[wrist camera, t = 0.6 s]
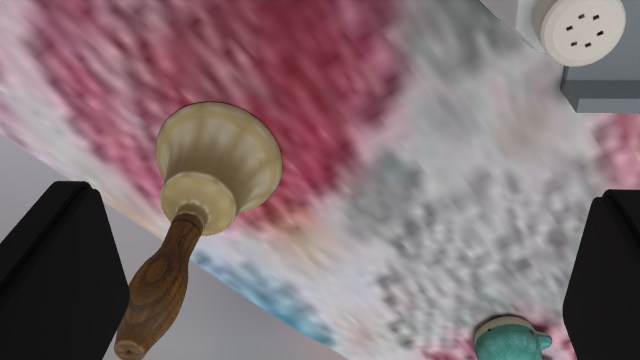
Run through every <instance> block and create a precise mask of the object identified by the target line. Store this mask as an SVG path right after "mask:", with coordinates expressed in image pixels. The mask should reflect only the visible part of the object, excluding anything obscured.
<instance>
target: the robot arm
mask: <svg viewBox="0 0 640 360" xmlns="http://www.w3.org/2000/svg"><path fill="white" fill-rule="evenodd" d="M129 300H130V292H129V287H128V284H127V281H126V277H125V274H124V271H123V268H122V264H121V261H120V257H119V254H118V251H117V247H116V244H115V241H114V237H113V234H112V231H111V227H110V224H109V221H108V217H107V214H106V211H105V208H104V204H103V201H102V198H101V195H100V192H99V191H98V190H96V189H92V187H91V186H90V184H89V183H87V182H85V181H56V182H54V183H53V184H52V185H51V186H50V187H49V188H48V189H47V190H46V191H45V192H44V194H43V195H42V196H41V197H40V198H39V199H38V201H37V202H36V203H35V204H34V205H33V206H32V207H31V209H30V210H29V211H28V212H27V213H26V214H25V216H24V217H23V218H22V219H21V220H20V222H18V224H17V225H16V226H15V227H14V228H13V229H12V231H11V232H10V233H9V234H8V235H7V236H6V238H5V239H4V240H3V241H2V242H1V243H0V360H102V359H103V357H104V355H105V353H106V351H107V349H108V347H109V345H110V343H111V341H112V338H113V337H114V334H115V333H116V331H117V329H118V327H119V325H120V323H121V321H122V319H123V317H124V315H125V312H126V310H127V308H128V305H129ZM563 320H564V324H565V327H566V330H567V332H568V335H569V338H570V340H571V343H572V346H573V348H574V351H575V354H576V356H577V359H578V360H640V190H617V189H609V190H607V191H605V193H604V194H603V196H602V197H596V198H594V200H593V201H592V204H591V207H590V210H589V214H588V218H587V221H586V225H585V228H584V232H583V235H582V239H581V242H580V246H579V249H578V253H577V257H576V260H575V264H574V267H573V271H572V274H571V278H570V281H569V285H568V288H567V292H566V296H565V299H564V303H563Z"/></svg>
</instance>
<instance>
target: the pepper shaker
mask: <svg viewBox="0 0 640 360" xmlns="http://www.w3.org/2000/svg"><path fill="white" fill-rule="evenodd" d="M480 1H481V2H482V3H483V4H484V5H485V6H486V7H487V8H488V9H489V10H490V11H491V13H493V14H494V15H495V16H496V17H497V18H498V19H499V20H501V21H502V22H503V23H504V24H505V25H506V26H507V27H509V28H510V29H511V30H512V31H513V32H514V33H515V34H516V35H518V36H519V37H520V38H521V39H522V40H523V41H524V42H526V43H527V44H528V45H529V46H530V47H531V48H533V49H534V50H536V51H537V52H545V53H546V54H547V55H548V56H549V57H550V58H551V59H552V60H553V61H555V62H557V63H558V64H560V65H565V66H569V67H577V66H584V65H588V64H592V63H594V62H596V61H598V60H600V59H601V58H603V57H604V56H605V55H607V54H608V53H609V52H610V51H611V50H612V49H613V48H614V47H615V46H616V44H617V43H618V42H619V40H620V38H621V36H622V34H623V32H624V28H625V23H626V15H625V9H624V7H623V4H622V2H621V1H620V0H480Z"/></svg>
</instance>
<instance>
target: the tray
mask: <svg viewBox="0 0 640 360" xmlns="http://www.w3.org/2000/svg"><path fill="white" fill-rule="evenodd" d="M620 1H621V2H622V4H623V7H624V9H625V15H626V23H625V28H624V32H623V34H622V36H621V38H620V40H619V42H618V43H617V44H616V46H615V47H614V48H613V49H612V50H611V51H610V52H609V53H608V54H607V55H605V56H604V57H603V58H601V59H600V60H598V61H596V62H594V63H592V64H588V65H584V66H577V67H569V66H565V70H564V74H563V79H562V84H561V88H560V90H561V91H562V93H563V94H564V95H565V97H566V98H567V100H568V101H569V103H570V104H571V106H572V107H573V109H574V110H575V112H576V113H640V0H620Z"/></svg>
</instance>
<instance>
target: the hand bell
mask: <svg viewBox="0 0 640 360" xmlns="http://www.w3.org/2000/svg"><path fill="white" fill-rule="evenodd" d="M156 158H157V163H158V167H159V170H160V172H161V174H162V176H163V178H164V180H165V182H164V184H163V187H162V189H161V195H160V200H161V206H162V209H163V212H164V214H165V215H166V217H167V218H168V219H169V220H170V221H171V226H170V228H169V230H168V233H167V235H166V237H165V240H164V242H163V244H162V246H161V248H160V249H159V250H158V251H157V252H156V253H155V254H154V255H153V256H152V257H150V258H149V259H148V260H147V261H146V262H145V263H144V264H143V265H142V266H141V267H140V269H139V270H138V271H137V273H136V274H135V275H134V277H133V279H132V280H131V282H130V284H129V285H128V287H129V292H130V300H129V305H128V308H127V310H126V312H125V315H124V317H123V319H122V321H121V323H120V325H119V327H118V329H117V336H116V342H115V345H114V351H115V354H116V355H117V356H118V357H119V358H120V359H122V360H141V359H142V358H143V357H144V356H145V355H146V353H147V352H148V351H149V349H150V348H151V347H152V346H153V345H154V344H155V343H156V342H157V341H158V340H159V339H160V338H161V337H162V336H163V335H164V333H166V331H167V330H168V329H169V328H170V326H171V325H172V324H173V322H174V321H175V319H176V317H177V315H178V313H179V311H180V308H181V306H182V303H183V300H184V297H185V293H186V289H187V284H188V262H189V258H190V256H191V254H192V252H193V250H194V247H195V245H196V243H197V242H198V240H199V238H200V236H208V235H214V234H217V233H220V232H222V231H223V230H225V229H226V228H228V227H229V225H230V224H231V223H232V222H233V221H234V219H235V217H236V215H237V213H241V212H245V211H248V210H250V209H253V208H255V207H257V206H258V205H260V204H262V203H263V202H265V201H266V200H267V199H268V198H269V197H270V196H271V195H272V194H273V192H274V191H275V190H276V188H277V186H278V184H279V182H280V178H281V174H282V157H281V152H280V148H279V146H278V144H277V142H276V140H275V138H274V136H273V135H272V133H271V132H270V131H269V129H268V128H267V127H266V126H265V125H264V124H263V123H262V122H261V121H260V120H258V119H257V118H256V117H254V116H253V115H251V114H250V113H248V112H247V111H245V110H243V109H240V108H238V107H235V106H233V105H230V104H225V103H220V102H202V103H196V104H192V105H188V106H186V107H183V108H181V109H179V110H178V111H176V112H175V113H174V114H172V115H171V116H170V117H169V118H168V119H167V120H166V122H165V123H164V124H163V126H162V127H161V129H160V131H159V134H158V137H157V141H156Z"/></svg>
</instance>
